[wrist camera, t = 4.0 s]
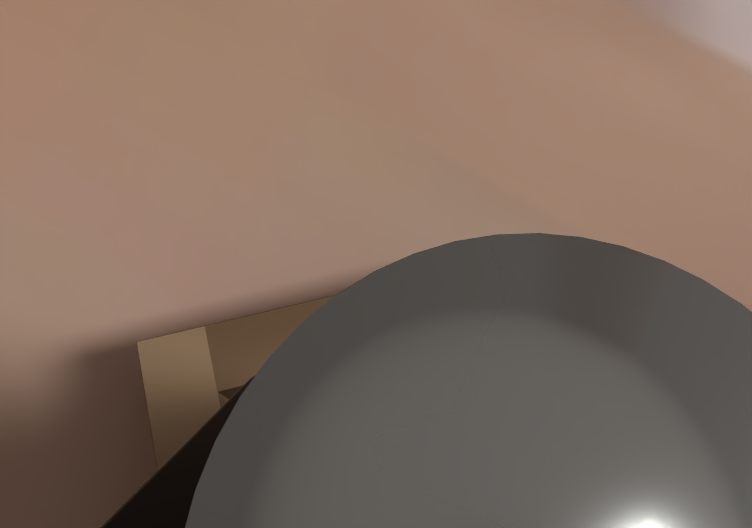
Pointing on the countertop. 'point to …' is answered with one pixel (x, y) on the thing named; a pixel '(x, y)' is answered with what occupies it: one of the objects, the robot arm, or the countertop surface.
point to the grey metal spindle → (498, 399)
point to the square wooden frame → (208, 369)
